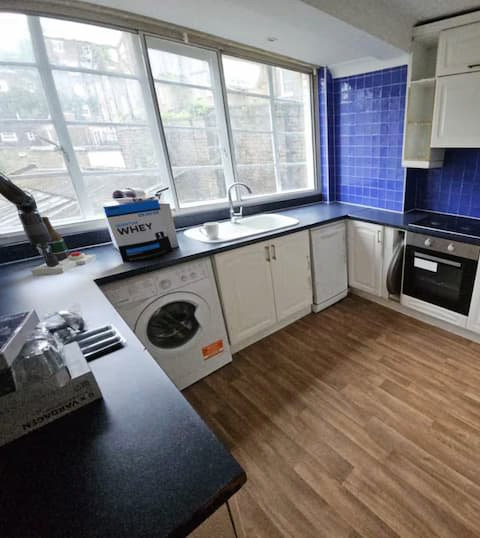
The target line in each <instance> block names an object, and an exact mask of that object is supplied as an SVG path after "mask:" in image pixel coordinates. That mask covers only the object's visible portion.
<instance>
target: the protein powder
mask: <svg viewBox="0 0 480 538" xmlns="http://www.w3.org/2000/svg"><path fill="white" fill-rule="evenodd" d="M102 208H103V209H104V213H105V216H106V220H107V221H108V226H109V228H110V230H111V233H112V234H113V237H114V240H115V243H116V245H117V248H118V251H119V254H120V257H121V260H122V263H123V264H126V263H136V262H140V261H147V260H152V259H155V258H159V257H161V256H164V255H167V254H168V253H171V252H173V247H172V244H171V241H170V238H169V234H168V231H167V227H166V224H165V223H166V222H165V219H164V216H163V213H162V209H161V205H160V202H159V199H154V200H153V199H152V200H147V201H146V200H145V201H138V202H131V203H124V204H122V203H121V204H116V205H108V206H107V205H106V206H102Z"/></svg>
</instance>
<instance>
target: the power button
mask: <svg viewBox="0 0 480 538" xmlns="http://www.w3.org/2000/svg"><path fill="white" fill-rule="evenodd" d="M80 253H81V252H80V251H73V252H71V253H70V255H72V257H75V256H79V255H81V254H80Z"/></svg>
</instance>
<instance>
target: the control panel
mask: <svg viewBox="0 0 480 538" xmlns="http://www.w3.org/2000/svg"><path fill="white" fill-rule="evenodd" d="M58 262H59V265H56V266H54V267H48V266H47V264H46V262H45V263H43V264H40V265H38V266H37V267H34V268H33V269H30V272H31V274H32V276H44V275H53V274H54V275H55V274H64V273H66V272H69V271H70V270H72V269H73V268H75V267H77V266H78V265H77V264H76V262H75V260H74V261H63V262H61V261H58Z"/></svg>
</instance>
